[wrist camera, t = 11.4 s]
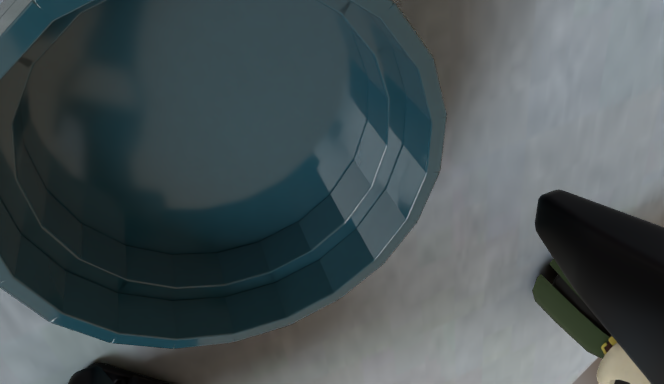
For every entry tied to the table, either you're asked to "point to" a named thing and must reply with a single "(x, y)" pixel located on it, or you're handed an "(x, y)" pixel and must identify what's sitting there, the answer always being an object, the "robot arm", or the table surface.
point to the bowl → (207, 160)
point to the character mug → (585, 329)
